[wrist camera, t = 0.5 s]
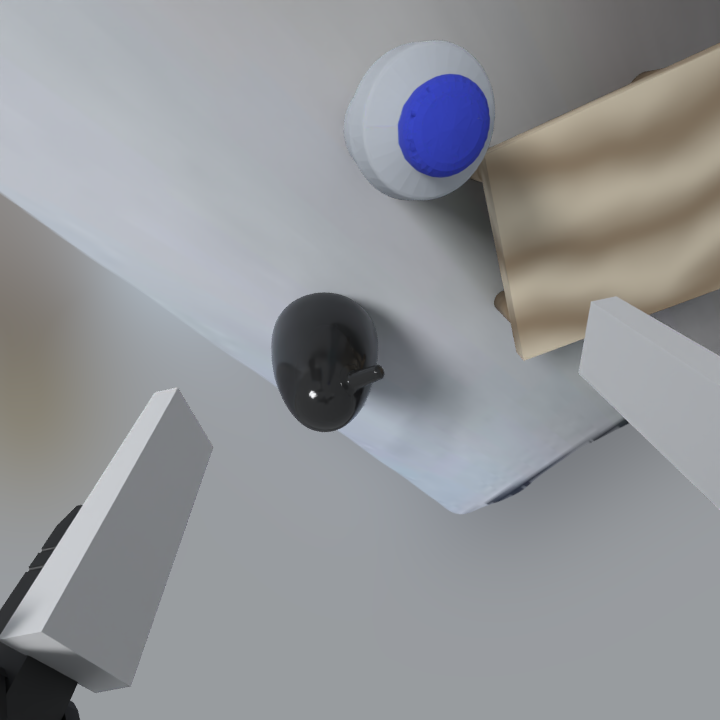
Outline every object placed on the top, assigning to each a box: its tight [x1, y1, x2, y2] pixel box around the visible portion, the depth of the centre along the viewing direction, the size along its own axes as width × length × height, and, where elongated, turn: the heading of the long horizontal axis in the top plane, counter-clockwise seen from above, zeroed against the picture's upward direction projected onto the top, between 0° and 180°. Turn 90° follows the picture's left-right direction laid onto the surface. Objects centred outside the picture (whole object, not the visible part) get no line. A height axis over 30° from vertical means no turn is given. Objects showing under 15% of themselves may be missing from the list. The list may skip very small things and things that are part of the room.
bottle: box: [344, 40, 495, 200], centre depth 21 cm, size 7×7×20 cm
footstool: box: [470, 43, 720, 361], centre depth 31 cm, size 18×18×8 cm
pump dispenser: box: [271, 292, 384, 432], centre depth 32 cm, size 10×10×15 cm
